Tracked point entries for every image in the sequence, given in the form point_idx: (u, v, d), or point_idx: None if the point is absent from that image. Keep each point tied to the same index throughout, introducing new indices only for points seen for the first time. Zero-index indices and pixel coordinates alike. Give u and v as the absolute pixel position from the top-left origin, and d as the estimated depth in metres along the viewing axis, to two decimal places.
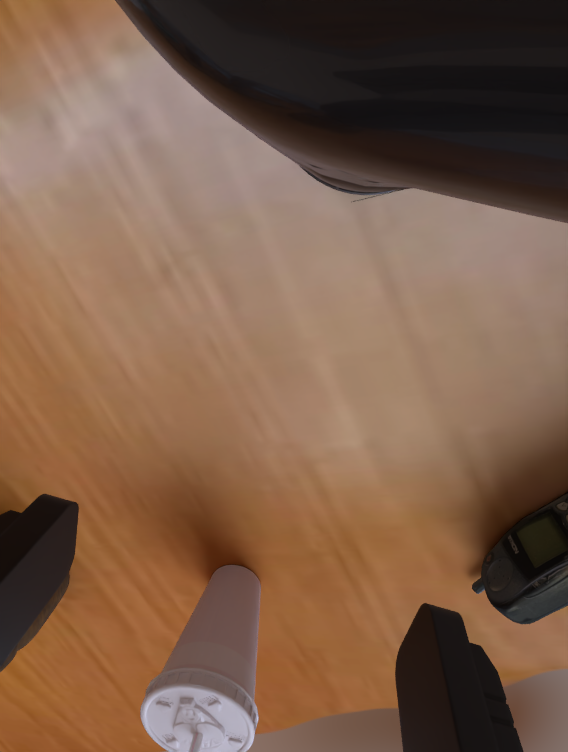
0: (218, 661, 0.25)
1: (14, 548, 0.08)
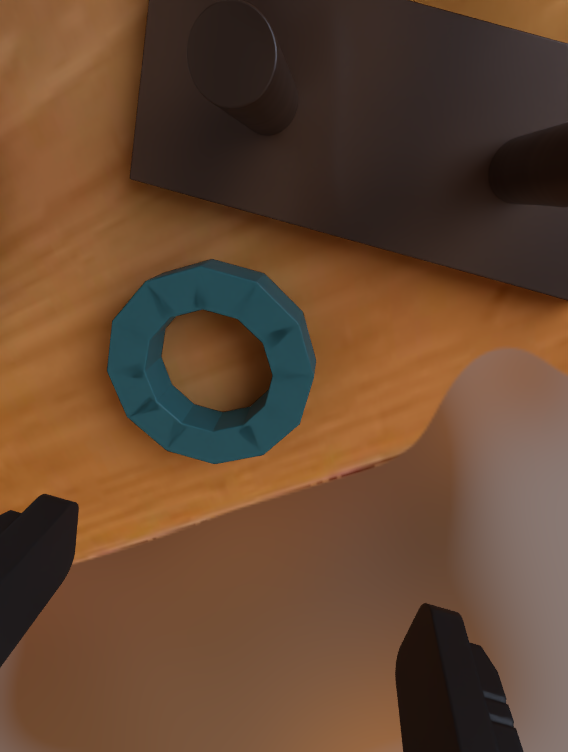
0: None
1: (14, 548, 0.08)
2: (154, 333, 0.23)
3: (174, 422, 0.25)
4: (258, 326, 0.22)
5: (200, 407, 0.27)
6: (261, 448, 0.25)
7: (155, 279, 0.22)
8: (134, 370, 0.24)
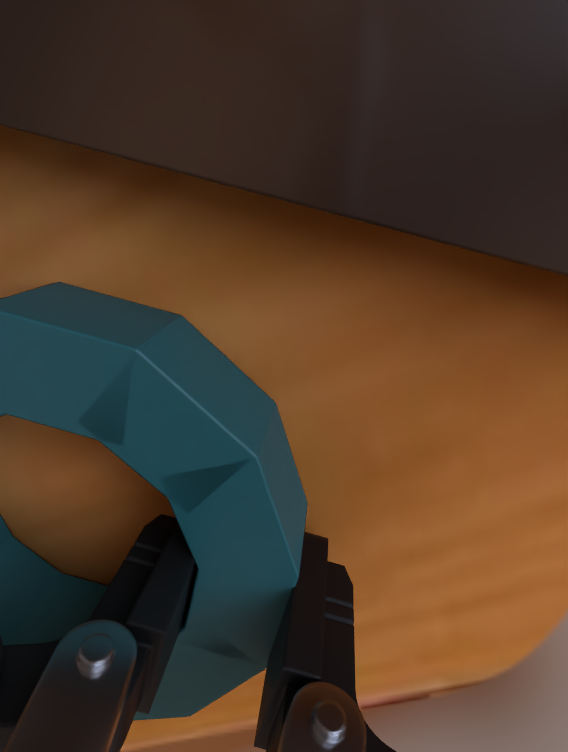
0: None
1: (186, 549, 0.09)
2: None
3: None
4: (152, 459, 0.08)
5: (72, 582, 0.13)
6: (184, 705, 0.11)
7: None
8: None
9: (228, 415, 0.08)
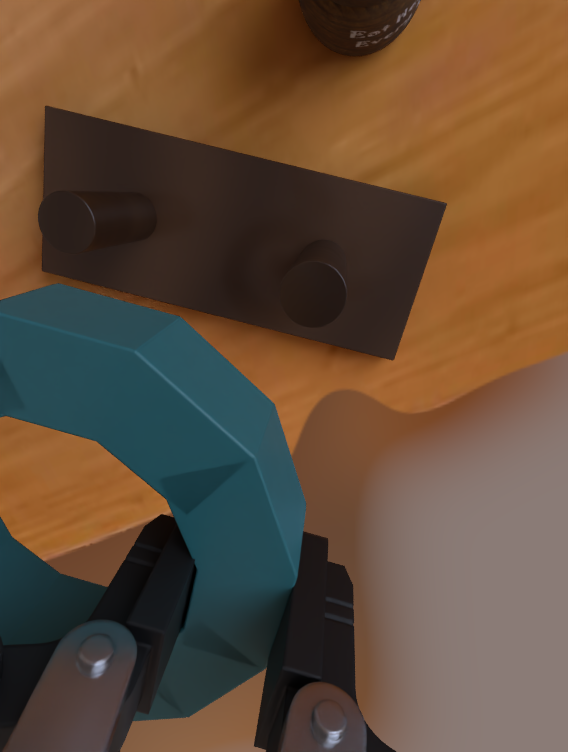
0: None
1: (186, 549, 0.09)
2: None
3: None
4: (151, 460, 0.08)
5: (71, 582, 0.13)
6: (183, 706, 0.11)
7: None
8: None
9: (227, 416, 0.08)
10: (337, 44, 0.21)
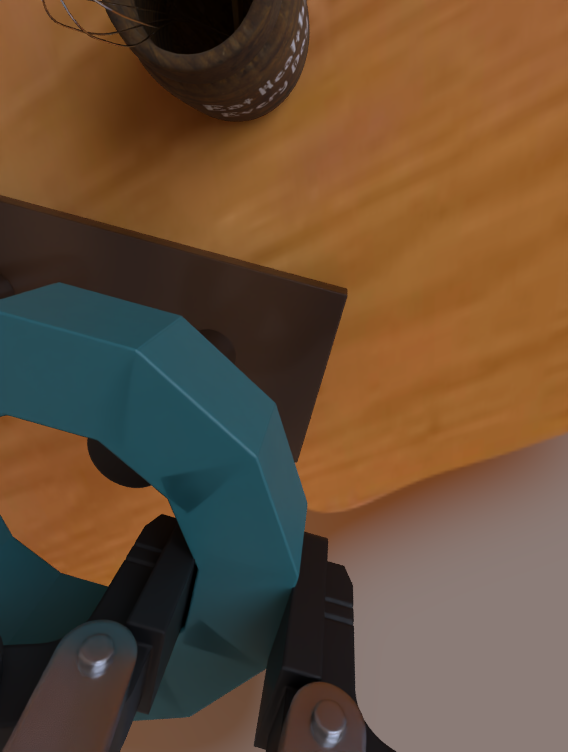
0: None
1: (186, 549, 0.09)
2: None
3: None
4: (152, 460, 0.08)
5: (71, 582, 0.13)
6: (184, 706, 0.11)
7: None
8: None
9: (228, 416, 0.08)
10: (203, 112, 0.18)
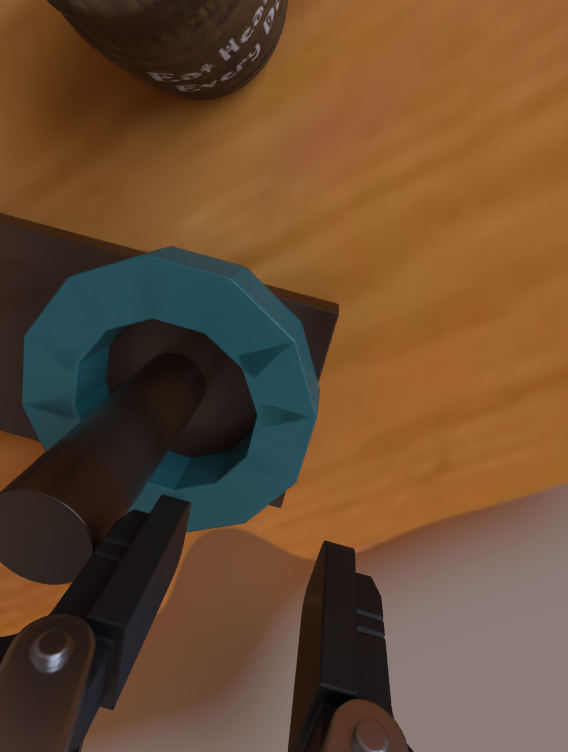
0: None
1: (154, 543, 0.09)
2: (85, 353, 0.16)
3: None
4: (235, 344, 0.15)
5: None
6: (242, 514, 0.17)
7: (81, 274, 0.15)
8: (59, 404, 0.17)
9: (278, 319, 0.15)
10: (155, 86, 0.14)
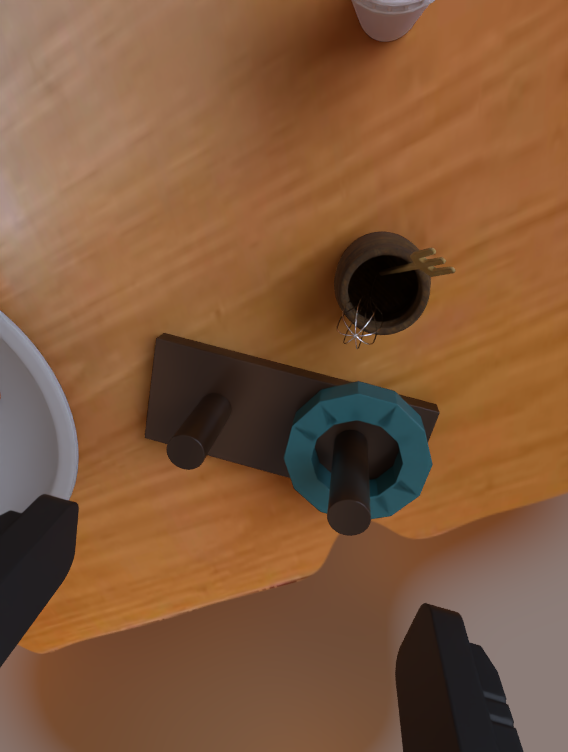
0: None
1: (14, 548, 0.08)
2: (321, 434, 0.33)
3: (328, 492, 0.35)
4: (395, 431, 0.32)
5: None
6: (390, 511, 0.35)
7: (326, 401, 0.32)
8: (303, 457, 0.34)
9: (416, 420, 0.32)
10: None
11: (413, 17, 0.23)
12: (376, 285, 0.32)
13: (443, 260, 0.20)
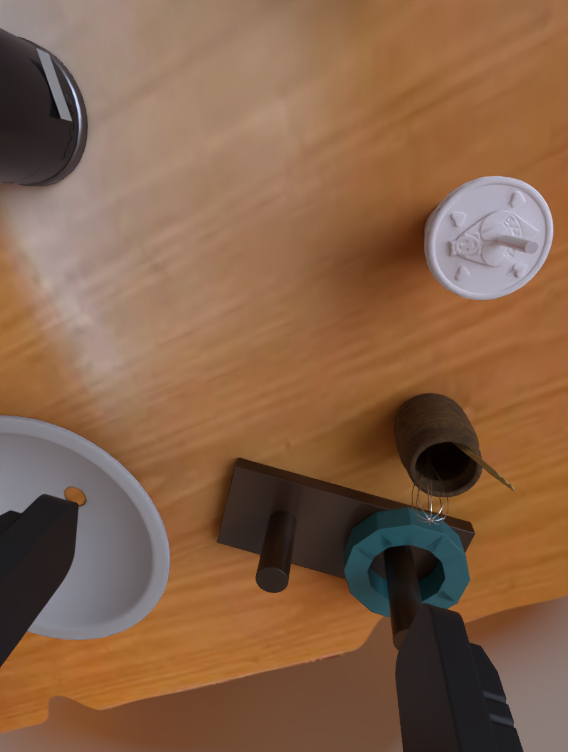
0: None
1: (14, 548, 0.08)
2: (377, 554, 0.40)
3: (380, 598, 0.41)
4: (441, 554, 0.39)
5: (386, 581, 0.43)
6: None
7: (384, 529, 0.39)
8: (361, 570, 0.40)
9: (458, 545, 0.39)
10: None
11: None
12: None
13: (506, 483, 0.27)
